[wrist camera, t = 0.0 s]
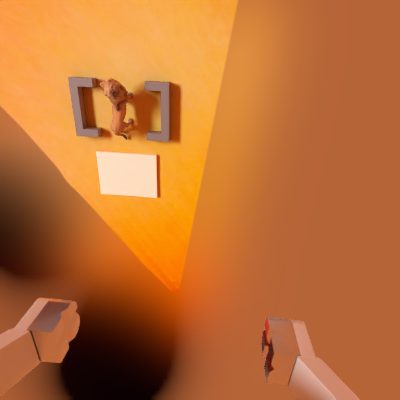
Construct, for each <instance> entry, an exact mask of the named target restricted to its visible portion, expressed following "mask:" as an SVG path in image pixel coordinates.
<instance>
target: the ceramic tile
mask: <svg viewBox="0 0 400 400" xmlns="http://www.w3.org/2000/svg"><path fill="white" fill-rule="evenodd" d="M96 155H97V163H98V171H99V180H100V188H101V194H112V195H126V196H140V197H154V198H157V197H158V190H157V155H155V154H139V153H124V152H109V151H96Z"/></svg>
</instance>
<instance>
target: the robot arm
mask: <svg viewBox="0 0 400 400" xmlns="http://www.w3.org/2000/svg"><path fill="white" fill-rule="evenodd" d="M76 309H77V304H76V302H74V301H67V300H58V299H49V298H39V299H37V300H36V301H35V303H34V304H33V305H32V307H31V308H30V309H29V310H28V312H27V313H26V314H25V315H24V317H23V318H22V319H21V320H20V322H19V323H18V324H17V326H16V327H15V328H14V329H9V330H7V331H6V332H4V333H2V334H1V335H0V396H1V395H3V394H4V393H5V392H6V391H7V390H9V389H10V388H11V387H12V386H13V385H14V384H16V383H17V382H18V381H19V380H20V379H22V378H23V377H24V376H25V375H26V374H27V373H29V372H30V371H31V370H32V369H33V368H35V367H36V366H37V365H38V364H39V363H40V361H41V362H56V363H61V362H62V360H63V358H64V356H65V354H66V352H67V351H68V349H69V345H68V342H69V341H71V340H72V339H74V337H75V335H76V334H77V332H78V328H79V324H80V318H79V314H77V313H76V312H75V311H76ZM264 325H265V330H264V331H263V333H262V343H261V344H262V355H263V357H264V358H265V359H266V360H265V365H264V369H265V376H266V382H267V383H271V384H279V385H286V386H288V387H289V389H290V391H291V392H292V393H293V395H294V396H295V398H296V399H297V400H360V399H359V398H358V397H357V396H356V395H355V394H354V393H353V392H352V391H351V390H350V389H349V388H348V387H347V386H346V385H345V384H344V383H343V382H342V381H341V380H340V379H339V378H338V376H337V375H335V373H334V372H333V371H332V370H331V369H330V368H329V367H328V366H327V365H326V364H325V363H324V362H323V361H322V360H321V359H320V358H316V357H315V354H314V350H313V347H312V345H311V341H310V338H309V335H308V332H307V329H306V326H305V323H304V322H303V321H297V320H287V319H274V318H266V320H265V324H264Z"/></svg>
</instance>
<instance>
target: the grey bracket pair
mask: <svg viewBox="0 0 400 400" xmlns="http://www.w3.org/2000/svg"><path fill="white" fill-rule="evenodd" d="M68 80H69V87H70V93H71V100H72V107H73V113H74V120H75V127H76V133H77V136H86V137H100V136H101V135H102V129H101V128H96V127H87V121H86V113H85V106H84V98H83V91H82V87H97V83H96V78H85V77H68ZM145 90H150V91H161V131H148V132H147V140H149V141H165V142H169V141H170V139H171V114H170V82H158V81H145Z"/></svg>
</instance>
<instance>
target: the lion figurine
mask: <svg viewBox="0 0 400 400" xmlns="http://www.w3.org/2000/svg"><path fill="white" fill-rule="evenodd" d="M100 86H101V87H102V88H103V90H104V95H105V96H107V97H108V98H109V99H110V100H111V102H112V104H113V107H112V112H113V120H112V122H111V125H110V126H111V130H112V131H114V134H115V135H117V136H123V137H124V138H125V139H126V140H127V136H125V135H124V134H121V133H120V132H121V131H123V130H124V129H125V128H126V127H128V126H129V125H130V124H131V123H132V122H133V120H132V119H130V118H129V119H128V122H127V123H125V122H123V121H124V118H125V115H126V103H127V102H128V100H129V99H131V98H132V97H133V95H132V93H128V92H127V91H126V89H125V87H123V86H122V85H121V84H120V83H119V82H118V81H116V80H114V79H112V78H111V79H110V80H108V81H107V82H105V81H103V82H101V83H100ZM127 94H128V95H127Z"/></svg>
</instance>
